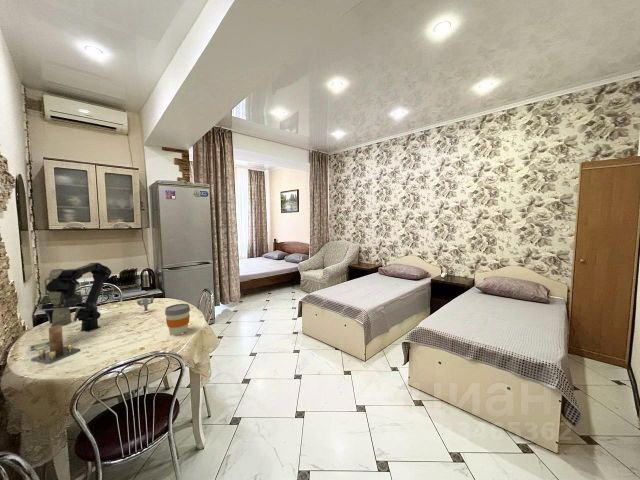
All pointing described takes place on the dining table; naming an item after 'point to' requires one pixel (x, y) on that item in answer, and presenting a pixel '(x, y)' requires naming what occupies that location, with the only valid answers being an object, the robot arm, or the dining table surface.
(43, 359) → the chassis plate
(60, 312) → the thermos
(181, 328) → the reusable coffee cup
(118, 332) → the dining table surface
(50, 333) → the walnut post
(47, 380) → the dining table surface
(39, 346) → the handheld gaming device
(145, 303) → the mechanical component
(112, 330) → the dining table surface
